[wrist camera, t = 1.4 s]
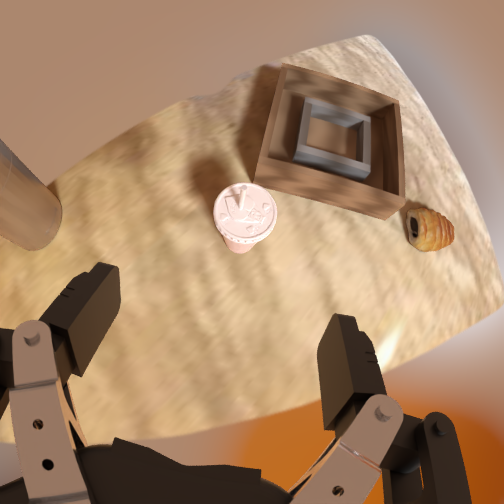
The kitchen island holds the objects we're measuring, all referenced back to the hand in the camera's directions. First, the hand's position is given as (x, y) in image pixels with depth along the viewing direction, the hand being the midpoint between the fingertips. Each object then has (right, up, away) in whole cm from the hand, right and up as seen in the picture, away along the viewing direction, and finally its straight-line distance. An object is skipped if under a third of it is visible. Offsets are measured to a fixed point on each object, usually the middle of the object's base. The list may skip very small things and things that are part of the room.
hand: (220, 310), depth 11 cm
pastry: (+28, +5, +33) cm, 43 cm away
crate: (+13, +18, +34) cm, 41 cm away
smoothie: (0, +4, +29) cm, 29 cm away
